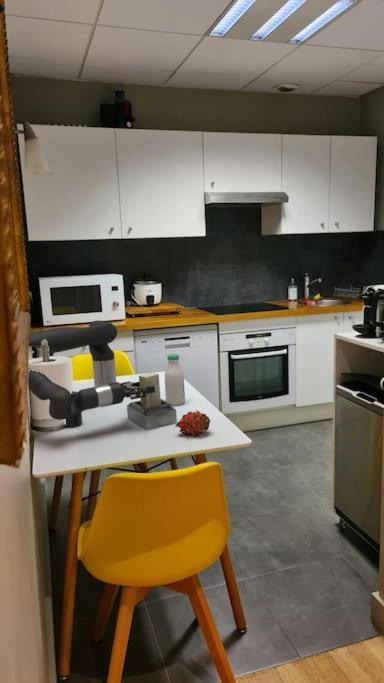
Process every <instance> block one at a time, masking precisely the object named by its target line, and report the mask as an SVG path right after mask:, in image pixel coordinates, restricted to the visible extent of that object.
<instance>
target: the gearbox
mask: <svg viewBox="0 0 384 683" xmlns="http://www.w3.org/2000/svg"><path fill="white" fill-rule="evenodd" d="M126 414H127V418H128V419H129V420H131V421H132V422H134V423H135V424H137V425H139V427H141V428H143V429H144V430H146V431H150V430H153V429H157V428H161V427H164V426H165V427H166V426H169V425H172V424H177V423H178V422H177V421H178V420H177V418H178V417H177V409H176V408H175V407H174V406H172V405H171V404H170V403H168V402H166V400H164V399H162V398H161V405H160V406H156V407H151V408H147V409H145V408H143V407H141V399H140V400H137V401H132V402H130V403H128V404H127V405H126Z"/></svg>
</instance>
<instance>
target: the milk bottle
mask: <svg viewBox="0 0 384 683" xmlns="http://www.w3.org/2000/svg"><path fill="white" fill-rule="evenodd" d="M166 356H167V366H166V369H165V372H164V391H165V401H166V402H168V403H170V404H171V407H174V406H181V405H184V404H185V402H186V398H185V397H186V396H185V395H186V394H185V393H186V392H185V376H184V372H183V370H182V367H181V365H180V355H179V354H176V353H171V354H167V355H166Z"/></svg>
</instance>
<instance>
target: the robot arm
mask: <svg viewBox="0 0 384 683" xmlns="http://www.w3.org/2000/svg"><path fill="white" fill-rule="evenodd" d="M29 332H30V337H29V347H34V348H37V349H39V350H41V349H40V348H41V347H40V346H41V341H42V340H43V339H46V340H47V341H48V346H49V349H50V351H51V353H50V354H54V353H55V354H56V353H62V352H66V351H70V350H75V349H79V348H83V347H86V346H88V349H89V353H90V355H91V359H92V360H91V361H92V372H93V382H94V383H93V385H94V386H93V387H87V388H83V389H80V390H78V391H76V392H77V394H76V396H75V397H74V398H73V399H72V395H71V394H70V391H69V390H68V388H66V387H63V386H62V385H59V384H57V383H55V382H53V381H52V380H51V379H50V378H49V377H48V376H47V375H45V374H44V373H43V372H42V373H43V374H42V373H40V372H41V371H40V372H36V371H32V370H30V372H29V389H28V390H29V391H30V392H31V393H32V394H33V395H34V396H35V397H36V398H38V399H39V400H40V401H47V400H49V404H48V413H49V417H51V418H52V419H54V420H59V421H60V420H62V421H63V419H67V418H70V417H72V416H74V415H76V414H79V413H81V412H82V413H83V412H84V411H86V410H87V411H88V410H91V409H96V408H105V407H110V406H114V405H117V404H118V405H119V404H122V403H123V402H124V399H125V398H128V399H129V398H130V400H137V399H141V398H142V397H147V394H149V393H154V392H155V387H154V386H151V387H146V388H140V384H139V381H136V382H134V381H130V380H129V381H124V382H118V381H117V374H116V373H117V372H116V371H117V370H116V359H115V358H116V357H115V352H114V350H113V349H111V348H110V346H109V344H110V343H112V342H113V341H115V339H116V338H117V336H118V328H117V327H116V326H115V325H114V323H112V322H110V321H106V320H105V321H103V320H93V321H92V322H90V324H89V325H88V326H64V327H62V326H61V327H60V326H59V327H55V328H48V329H42V330H36V331H29ZM46 376H47V377H46ZM141 392H142V393H141Z"/></svg>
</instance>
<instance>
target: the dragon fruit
mask: <svg viewBox="0 0 384 683" xmlns="http://www.w3.org/2000/svg"><path fill="white" fill-rule="evenodd" d="M210 423H211V419H210V417H209V416H207V414H206V413H201V412H200V411H198V410H195V411H193V412H192V411H188V412H187V414H183V415H182V417H181V418H180V420H179V421H178V422H177V423H175V424H176V425H175V428H177V427H178V428H179V432H180V433H182V434H187V435H191V434H192V436H193V437H195V436H196V435H201V434H202V433H203V431H204V432H205V431H208V430H209V428H210Z"/></svg>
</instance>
